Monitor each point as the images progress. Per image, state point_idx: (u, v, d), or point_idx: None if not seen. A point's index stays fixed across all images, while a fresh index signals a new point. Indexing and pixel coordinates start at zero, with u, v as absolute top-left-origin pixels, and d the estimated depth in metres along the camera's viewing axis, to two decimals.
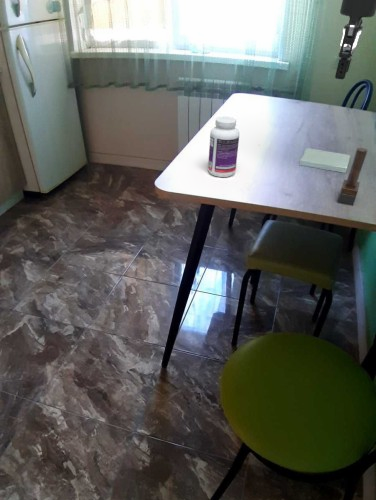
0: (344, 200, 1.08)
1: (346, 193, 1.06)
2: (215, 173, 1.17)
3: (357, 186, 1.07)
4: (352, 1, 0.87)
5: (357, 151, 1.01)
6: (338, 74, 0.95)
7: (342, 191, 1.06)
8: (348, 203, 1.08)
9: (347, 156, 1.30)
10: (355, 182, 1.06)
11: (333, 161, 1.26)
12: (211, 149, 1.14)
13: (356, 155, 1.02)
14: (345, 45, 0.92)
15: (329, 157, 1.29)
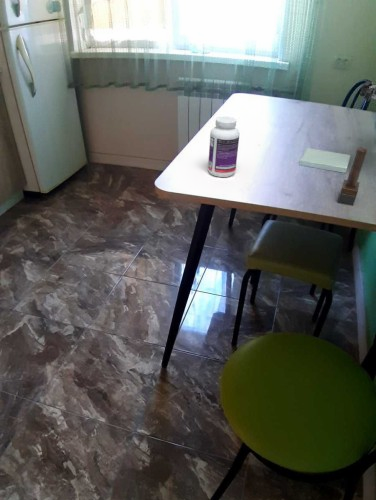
0: (344, 200, 1.08)
1: (346, 193, 1.06)
2: (215, 173, 1.17)
3: (357, 186, 1.07)
4: None
5: (357, 151, 1.01)
6: (364, 96, 1.04)
7: (342, 191, 1.06)
8: (348, 203, 1.08)
9: (347, 156, 1.30)
10: (355, 182, 1.06)
11: (333, 161, 1.26)
12: (211, 149, 1.14)
13: (356, 155, 1.02)
14: None
15: (329, 157, 1.29)
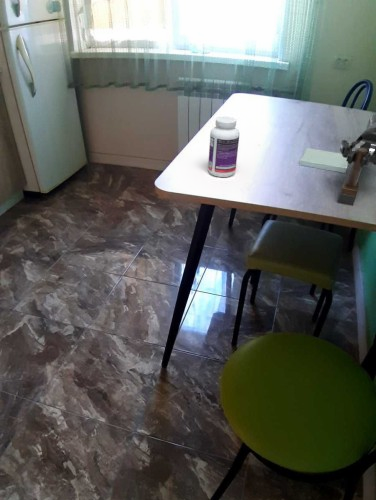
0: (344, 200, 1.08)
1: (346, 193, 1.06)
2: (215, 173, 1.17)
3: (357, 186, 1.07)
4: None
5: (357, 151, 1.01)
6: None
7: (342, 191, 1.06)
8: (348, 203, 1.08)
9: None
10: (355, 182, 1.06)
11: (333, 161, 1.26)
12: (211, 149, 1.14)
13: (356, 155, 1.02)
14: None
15: (329, 157, 1.29)
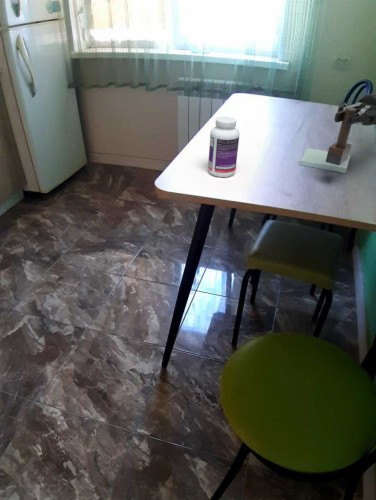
0: (331, 159, 1.11)
1: (333, 152, 1.09)
2: (215, 173, 1.17)
3: (346, 146, 1.10)
4: None
5: (345, 110, 1.04)
6: None
7: (329, 150, 1.10)
8: (335, 163, 1.11)
9: None
10: (343, 142, 1.08)
11: None
12: (211, 149, 1.14)
13: (344, 114, 1.05)
14: None
15: None
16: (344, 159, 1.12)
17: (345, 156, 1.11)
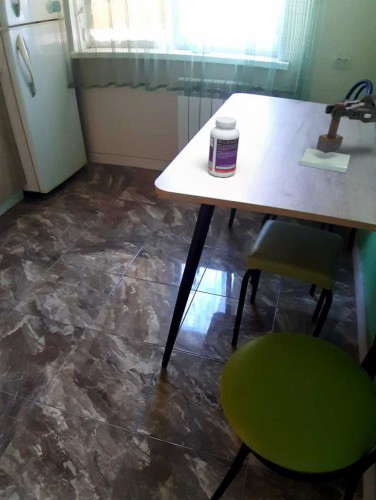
0: (320, 147, 1.26)
1: (321, 140, 1.24)
2: (215, 173, 1.17)
3: (335, 137, 1.23)
4: None
5: (335, 103, 1.19)
6: None
7: (319, 138, 1.25)
8: (322, 150, 1.25)
9: (347, 156, 1.30)
10: (332, 133, 1.23)
11: (333, 161, 1.26)
12: (211, 149, 1.14)
13: (334, 107, 1.19)
14: None
15: (329, 157, 1.29)
16: (333, 149, 1.25)
17: (334, 146, 1.25)
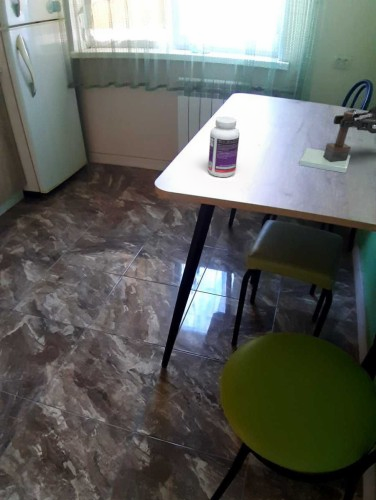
0: (326, 155, 1.27)
1: (328, 149, 1.25)
2: (215, 173, 1.17)
3: (342, 147, 1.24)
4: None
5: (344, 113, 1.20)
6: None
7: (326, 146, 1.26)
8: (328, 158, 1.26)
9: None
10: (339, 142, 1.23)
11: (333, 161, 1.26)
12: (211, 149, 1.14)
13: (343, 116, 1.20)
14: None
15: None
16: (339, 158, 1.26)
17: (340, 155, 1.25)
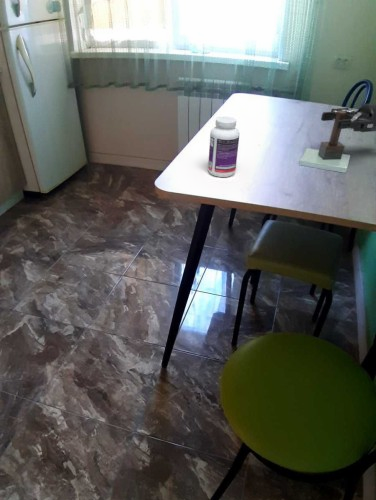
0: (320, 153, 1.28)
1: (322, 147, 1.27)
2: (215, 173, 1.17)
3: (335, 145, 1.25)
4: None
5: None
6: None
7: (321, 145, 1.27)
8: (321, 157, 1.28)
9: (347, 156, 1.30)
10: (332, 140, 1.25)
11: (333, 161, 1.26)
12: (211, 149, 1.14)
13: None
14: None
15: None
16: (333, 157, 1.27)
17: (334, 154, 1.26)
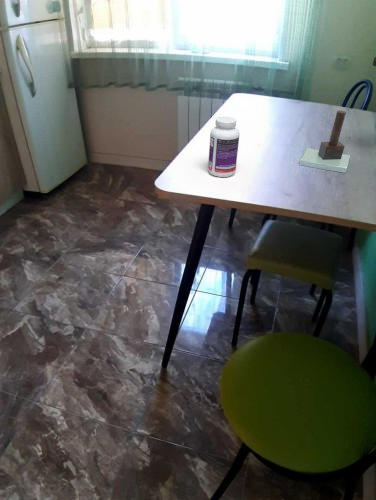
0: (320, 153, 1.28)
1: (322, 147, 1.27)
2: (215, 173, 1.17)
3: (335, 145, 1.25)
4: None
5: None
6: None
7: (321, 145, 1.27)
8: (321, 157, 1.28)
9: (347, 156, 1.30)
10: (332, 140, 1.25)
11: (333, 161, 1.26)
12: (211, 149, 1.14)
13: None
14: None
15: None
16: (333, 157, 1.27)
17: (334, 154, 1.26)
